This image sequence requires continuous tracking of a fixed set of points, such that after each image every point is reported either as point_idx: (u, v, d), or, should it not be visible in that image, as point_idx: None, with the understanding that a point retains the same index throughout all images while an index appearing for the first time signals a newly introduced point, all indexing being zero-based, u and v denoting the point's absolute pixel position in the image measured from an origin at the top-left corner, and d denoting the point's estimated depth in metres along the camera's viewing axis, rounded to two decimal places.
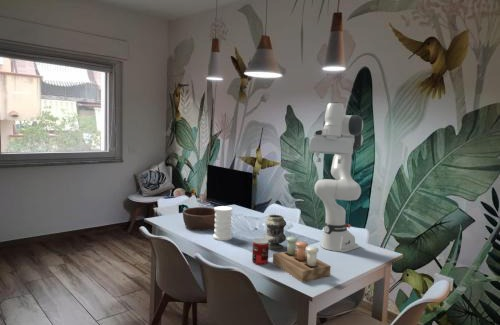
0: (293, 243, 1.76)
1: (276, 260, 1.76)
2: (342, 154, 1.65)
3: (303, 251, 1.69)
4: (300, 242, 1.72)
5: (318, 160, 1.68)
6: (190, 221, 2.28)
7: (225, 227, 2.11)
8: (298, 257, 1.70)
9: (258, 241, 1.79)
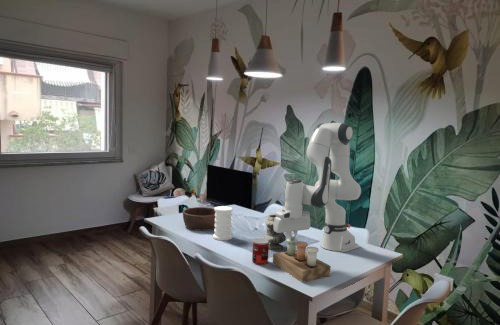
0: (293, 244, 1.76)
1: (276, 260, 1.76)
2: (296, 231, 1.77)
3: (303, 251, 1.69)
4: (300, 242, 1.72)
5: (291, 239, 1.77)
6: (190, 221, 2.28)
7: (225, 227, 2.11)
8: (298, 257, 1.70)
9: (258, 241, 1.79)
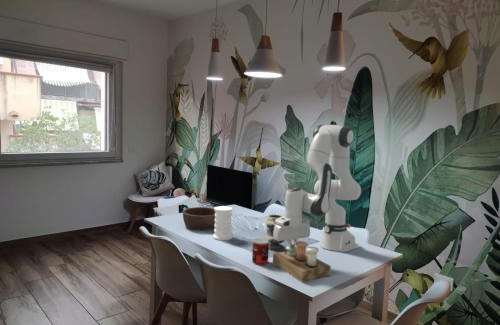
0: (293, 252, 1.77)
1: (276, 260, 1.76)
2: (295, 239, 1.78)
3: (303, 251, 1.69)
4: (300, 242, 1.72)
5: (290, 247, 1.77)
6: (190, 221, 2.28)
7: (225, 227, 2.11)
8: (298, 257, 1.70)
9: (258, 241, 1.79)
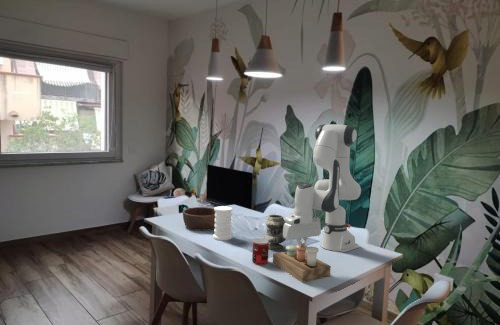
0: (293, 252, 1.77)
1: (276, 260, 1.76)
2: (306, 238, 1.71)
3: (303, 254, 1.70)
4: None
5: (301, 246, 1.70)
6: (190, 221, 2.28)
7: (225, 227, 2.11)
8: (298, 260, 1.70)
9: (258, 241, 1.79)
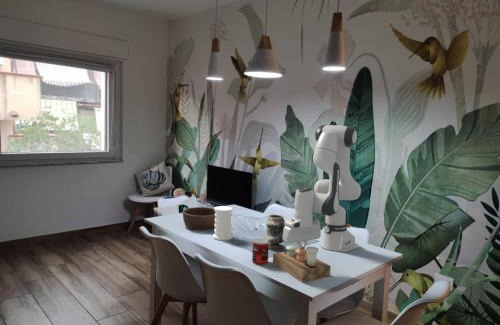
0: (293, 252, 1.77)
1: (276, 260, 1.76)
2: (306, 241, 1.71)
3: (303, 258, 1.70)
4: None
5: (301, 249, 1.70)
6: (190, 221, 2.28)
7: (225, 227, 2.11)
8: None
9: (258, 241, 1.79)
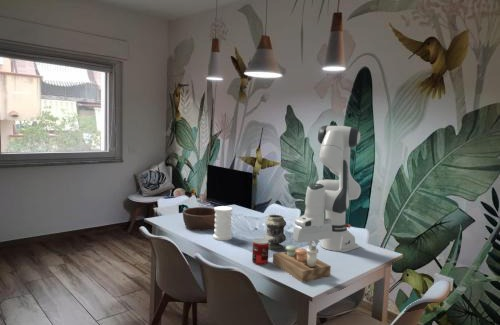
0: (293, 252, 1.77)
1: (276, 260, 1.76)
2: (317, 241, 1.63)
3: (303, 258, 1.70)
4: (300, 249, 1.72)
5: (312, 249, 1.63)
6: (190, 221, 2.28)
7: (225, 227, 2.11)
8: None
9: (258, 241, 1.79)
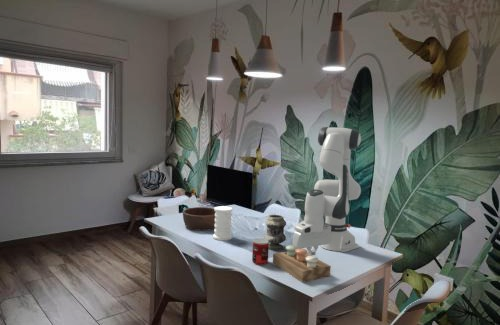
0: (293, 252, 1.77)
1: (276, 260, 1.76)
2: (316, 246, 1.64)
3: (303, 258, 1.70)
4: (300, 249, 1.72)
5: (311, 254, 1.64)
6: (190, 221, 2.28)
7: (225, 227, 2.11)
8: None
9: (258, 241, 1.79)
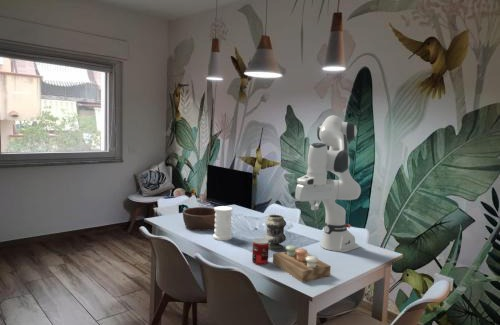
0: (293, 252, 1.77)
1: (276, 260, 1.76)
2: (319, 201, 1.62)
3: (303, 258, 1.70)
4: (300, 249, 1.72)
5: (314, 209, 1.61)
6: (190, 221, 2.28)
7: (225, 227, 2.11)
8: None
9: (258, 241, 1.79)
